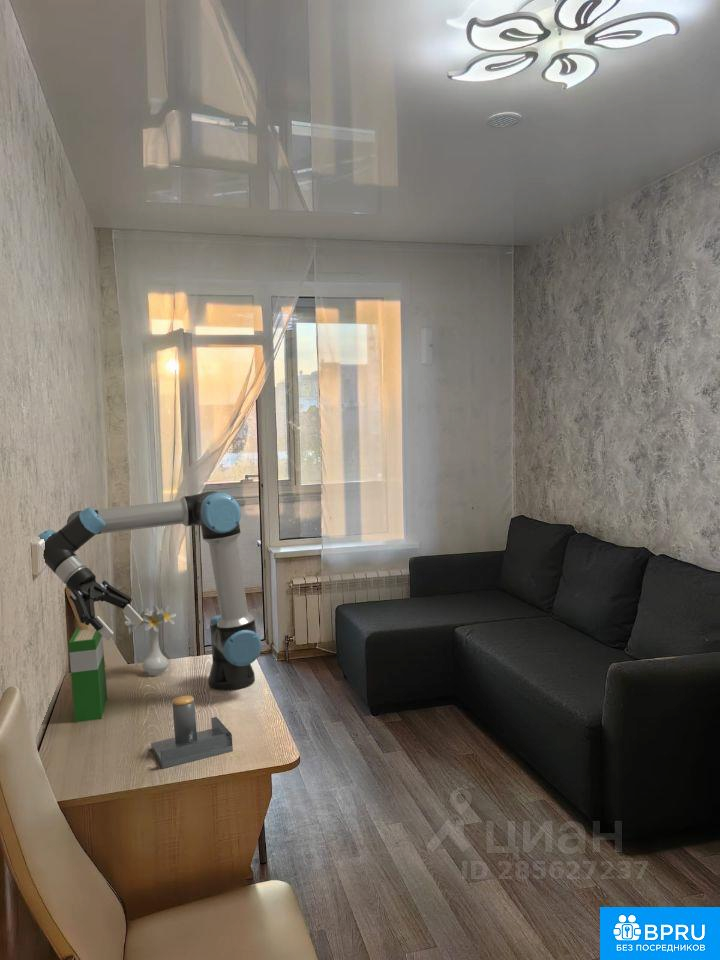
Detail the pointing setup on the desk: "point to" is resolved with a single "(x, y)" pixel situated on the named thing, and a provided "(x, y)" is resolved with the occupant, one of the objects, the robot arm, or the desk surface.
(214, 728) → the plate
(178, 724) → the grey cylinder orange top
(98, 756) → the desk surface
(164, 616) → the flower vase
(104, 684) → the hardback book
